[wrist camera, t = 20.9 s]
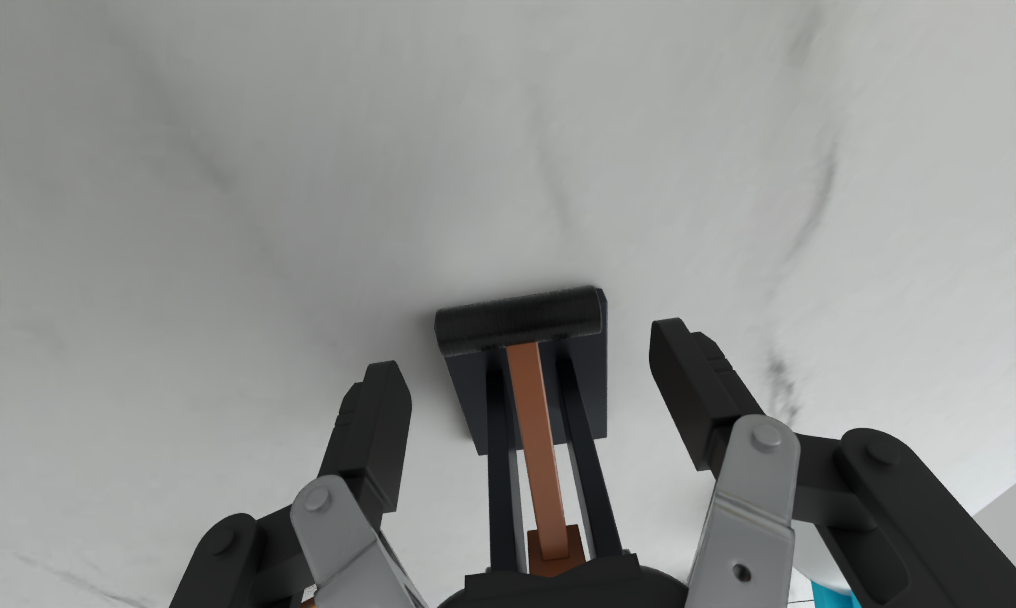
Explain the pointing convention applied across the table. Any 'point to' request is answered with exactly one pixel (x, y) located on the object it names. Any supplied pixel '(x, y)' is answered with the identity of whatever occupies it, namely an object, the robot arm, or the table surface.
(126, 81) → the table surface
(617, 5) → the table surface
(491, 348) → the lever
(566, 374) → the bracket
